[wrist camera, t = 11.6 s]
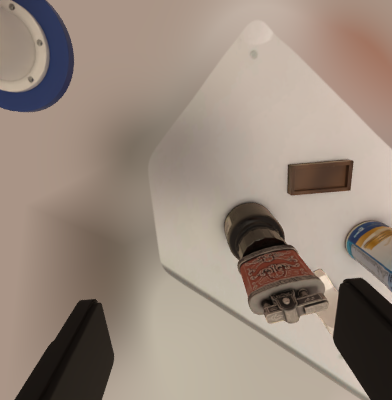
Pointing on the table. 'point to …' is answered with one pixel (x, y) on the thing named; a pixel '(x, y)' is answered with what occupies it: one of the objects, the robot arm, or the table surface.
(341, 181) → the tray
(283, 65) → the table surface
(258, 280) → the lighter
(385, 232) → the beverage bottle
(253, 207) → the ink bottle
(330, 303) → the white l-shaped piece
